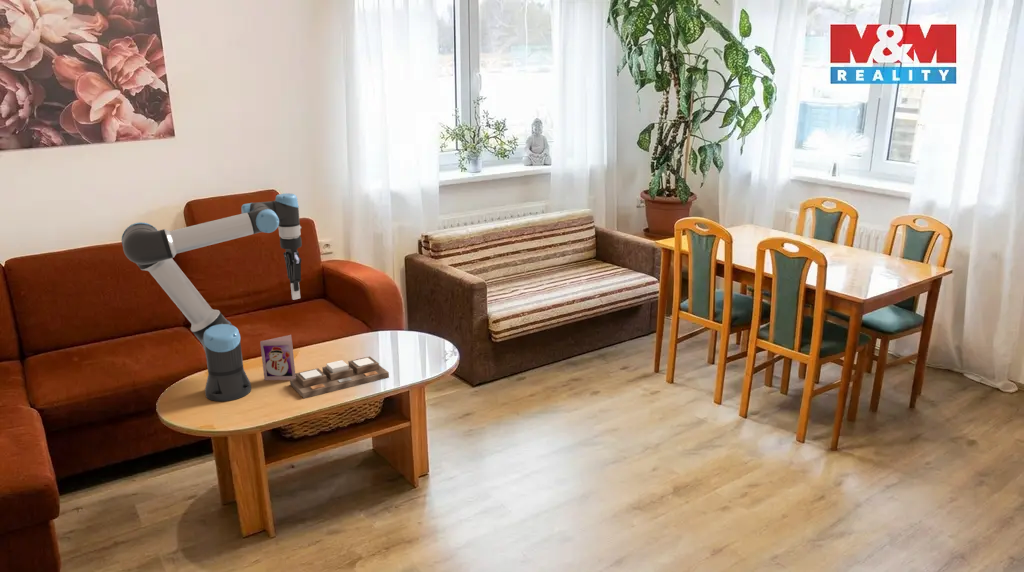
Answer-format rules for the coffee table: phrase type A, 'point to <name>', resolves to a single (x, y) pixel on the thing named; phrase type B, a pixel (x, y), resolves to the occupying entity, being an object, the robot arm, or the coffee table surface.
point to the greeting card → (278, 358)
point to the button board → (338, 379)
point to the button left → (310, 374)
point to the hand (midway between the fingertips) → (296, 298)
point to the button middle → (337, 366)
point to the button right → (363, 362)
